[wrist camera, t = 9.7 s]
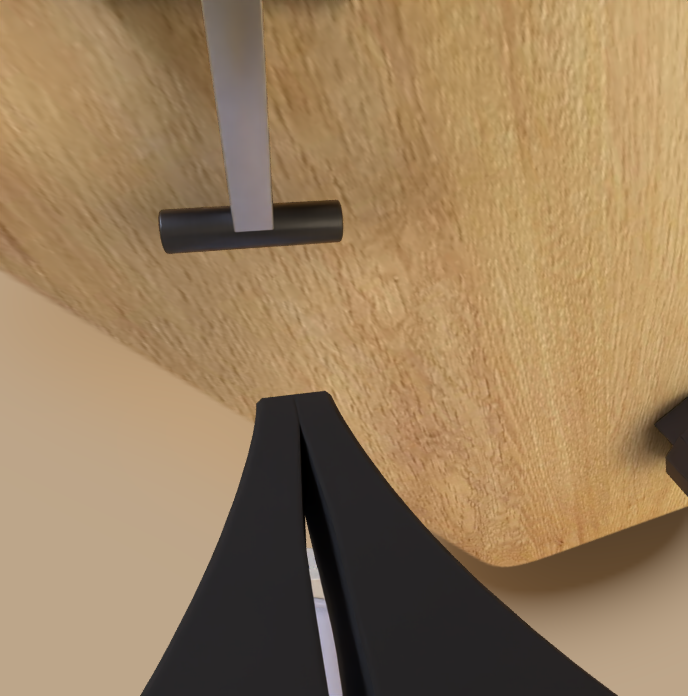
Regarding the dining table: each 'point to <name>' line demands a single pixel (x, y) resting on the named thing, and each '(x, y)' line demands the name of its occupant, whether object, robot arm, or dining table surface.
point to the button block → (677, 443)
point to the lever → (244, 151)
